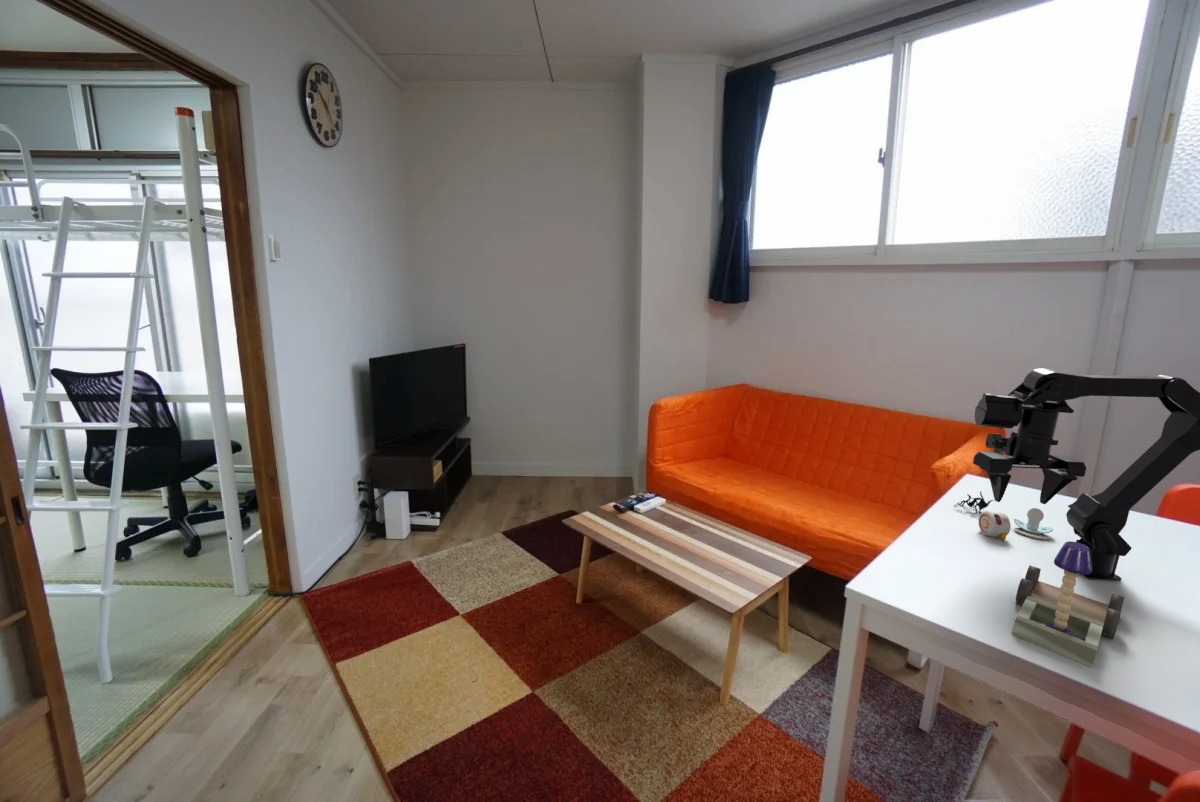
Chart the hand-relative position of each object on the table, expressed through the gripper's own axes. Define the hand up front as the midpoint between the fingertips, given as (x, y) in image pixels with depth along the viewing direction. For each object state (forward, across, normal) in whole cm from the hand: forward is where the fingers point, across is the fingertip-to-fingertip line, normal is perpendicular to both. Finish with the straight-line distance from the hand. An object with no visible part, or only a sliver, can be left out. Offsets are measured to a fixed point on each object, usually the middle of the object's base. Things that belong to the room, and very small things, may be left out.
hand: (1019, 502), depth 108 cm
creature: (+13, -7, -25) cm, 29 cm away
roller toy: (+13, -4, -11) cm, 18 cm away
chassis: (+13, +6, +22) cm, 26 cm away
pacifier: (+13, -14, -13) cm, 23 cm away
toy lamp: (+13, +10, +26) cm, 31 cm away
